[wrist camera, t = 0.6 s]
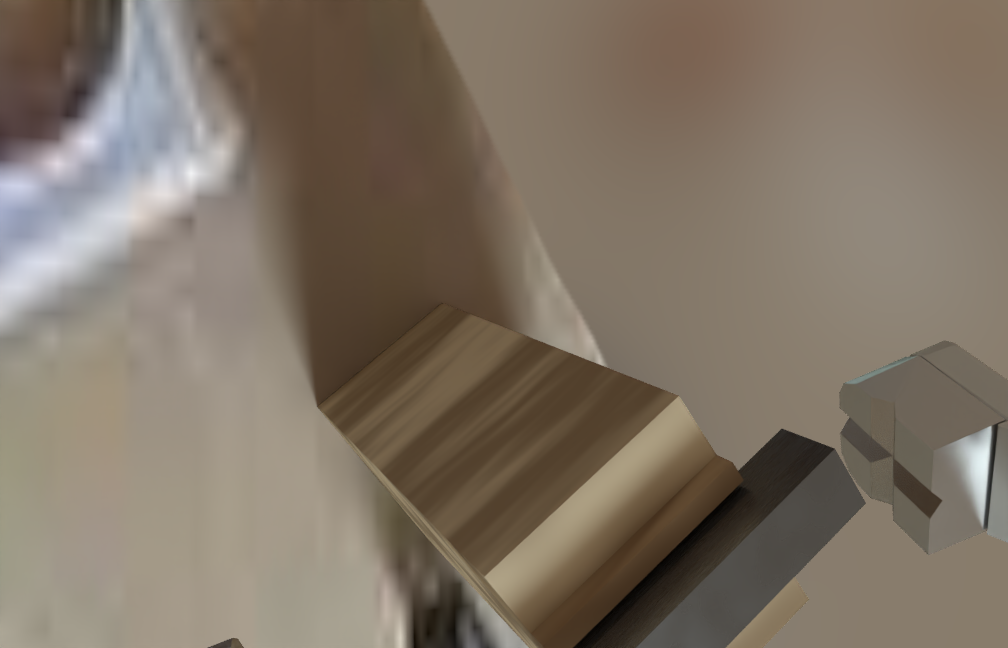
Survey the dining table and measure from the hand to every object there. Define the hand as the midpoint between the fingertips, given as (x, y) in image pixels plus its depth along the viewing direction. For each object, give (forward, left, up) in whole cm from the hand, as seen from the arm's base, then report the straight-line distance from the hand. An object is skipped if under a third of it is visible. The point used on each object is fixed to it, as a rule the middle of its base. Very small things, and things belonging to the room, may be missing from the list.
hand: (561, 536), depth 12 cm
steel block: (+18, +2, -20) cm, 27 cm away
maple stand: (+18, +5, -46) cm, 49 cm away
